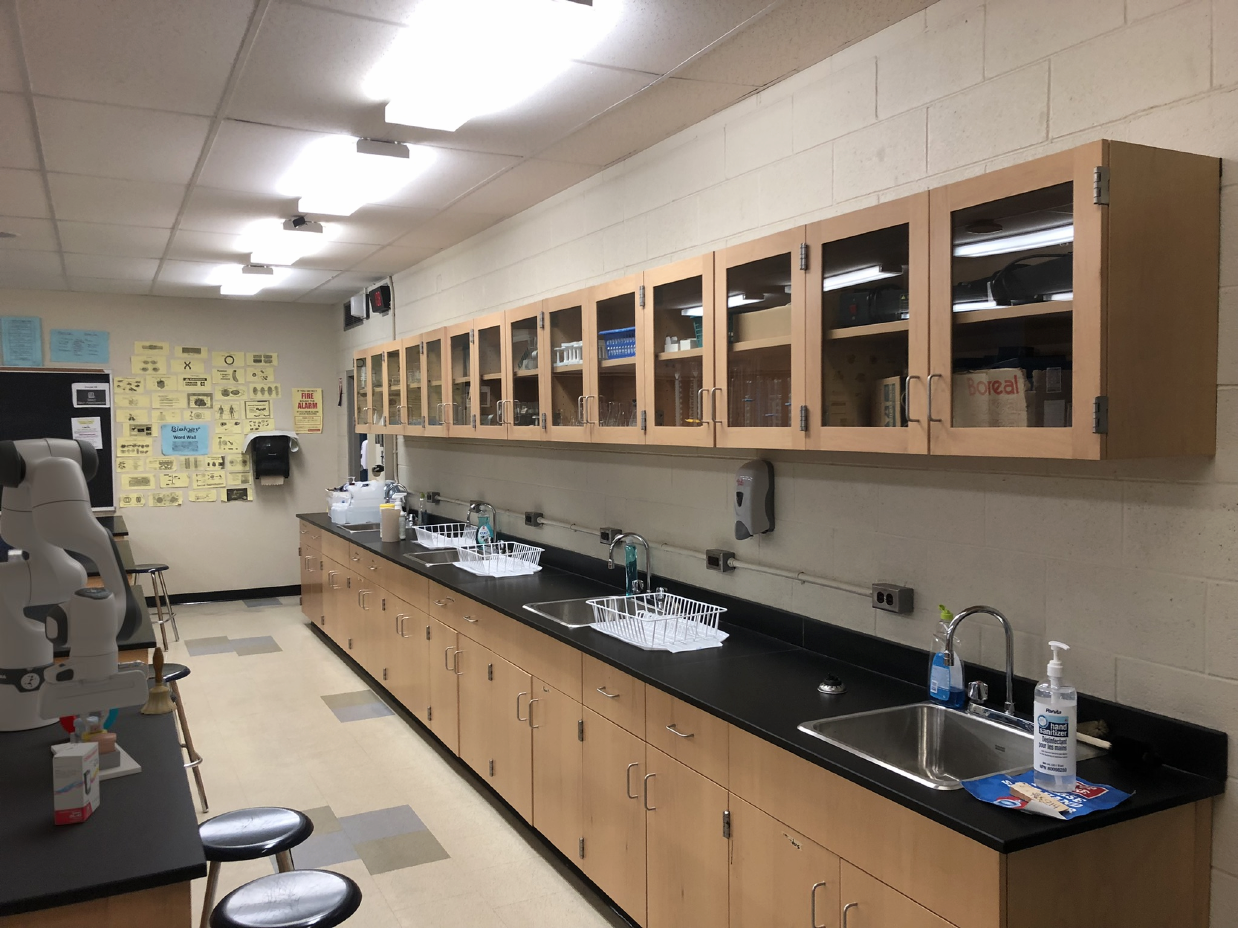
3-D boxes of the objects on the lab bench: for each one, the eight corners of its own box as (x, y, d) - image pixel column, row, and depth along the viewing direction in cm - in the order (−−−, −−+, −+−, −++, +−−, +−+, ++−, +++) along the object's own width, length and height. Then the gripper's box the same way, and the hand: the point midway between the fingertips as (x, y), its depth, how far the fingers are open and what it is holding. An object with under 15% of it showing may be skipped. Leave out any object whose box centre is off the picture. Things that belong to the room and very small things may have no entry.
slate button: (71, 739, 195) (71, 719, 195) (95, 735, 198) (95, 715, 198) (76, 744, 192) (76, 723, 192) (100, 740, 195) (100, 719, 195)
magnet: (118, 731, 210) (118, 688, 210) (118, 734, 208) (118, 690, 207) (59, 738, 204) (59, 694, 204) (58, 741, 202) (58, 697, 202)
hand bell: (166, 714, 223) (166, 650, 223) (133, 714, 224) (133, 650, 224) (183, 705, 232) (183, 643, 232) (151, 705, 232) (151, 643, 232)
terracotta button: (88, 757, 183) (87, 735, 183) (113, 752, 186) (113, 731, 186) (93, 763, 180) (93, 740, 180) (118, 758, 183) (118, 736, 183)
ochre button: (79, 753, 189) (79, 732, 189) (104, 748, 192) (104, 727, 192) (84, 758, 186) (84, 737, 186) (109, 754, 189) (109, 732, 189)
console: (51, 750, 196) (51, 732, 196) (108, 739, 203) (107, 722, 203) (78, 784, 175) (78, 764, 175) (141, 771, 182) (141, 752, 182)
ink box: (84, 823, 156) (83, 755, 156) (51, 826, 155) (51, 757, 155) (100, 805, 165) (100, 740, 165) (70, 807, 164) (69, 742, 163)
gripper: (144, 656, 198) (144, 719, 198) (34, 671, 185) (35, 738, 184) (152, 661, 193) (152, 725, 193) (40, 676, 180) (40, 745, 180)
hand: (94, 732), depth 189 cm, fingers closed, pressing on ochre button
